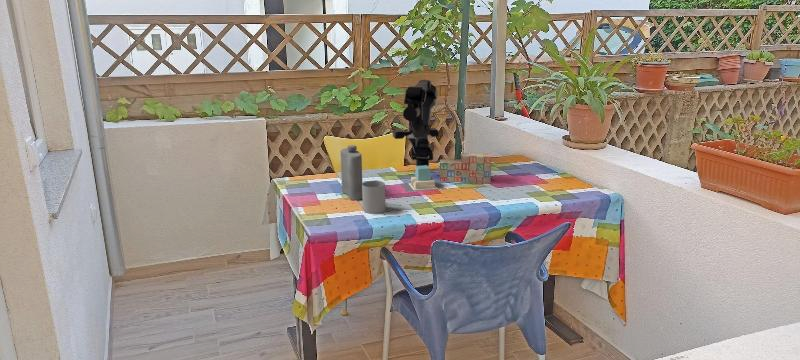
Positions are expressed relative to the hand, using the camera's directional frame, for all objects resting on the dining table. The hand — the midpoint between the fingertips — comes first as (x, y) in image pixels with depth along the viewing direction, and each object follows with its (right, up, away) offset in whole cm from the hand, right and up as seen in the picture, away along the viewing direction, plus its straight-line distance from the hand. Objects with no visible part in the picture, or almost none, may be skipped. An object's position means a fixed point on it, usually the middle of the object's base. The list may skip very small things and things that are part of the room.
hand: (415, 153), depth 246 cm
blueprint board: (+3, -15, -8) cm, 17 cm away
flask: (-25, -17, -16) cm, 34 cm away
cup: (-16, -22, -33) cm, 43 cm away
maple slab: (+3, -14, -8) cm, 16 cm away
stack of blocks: (+21, -12, +1) cm, 24 cm away
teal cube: (+3, -11, -9) cm, 14 cm away
